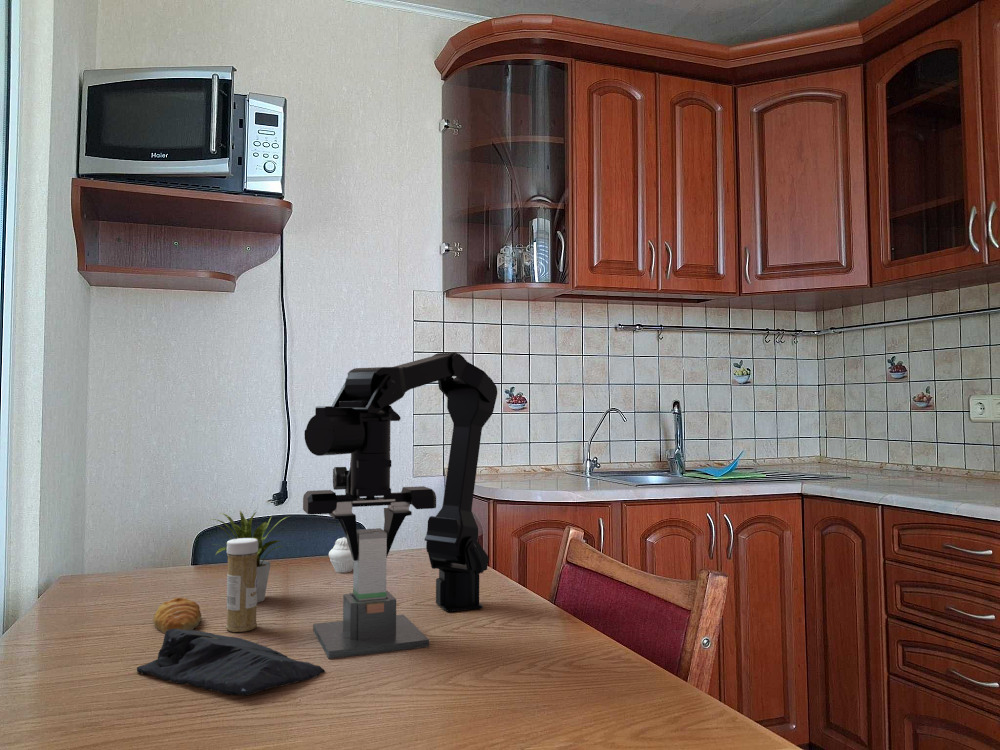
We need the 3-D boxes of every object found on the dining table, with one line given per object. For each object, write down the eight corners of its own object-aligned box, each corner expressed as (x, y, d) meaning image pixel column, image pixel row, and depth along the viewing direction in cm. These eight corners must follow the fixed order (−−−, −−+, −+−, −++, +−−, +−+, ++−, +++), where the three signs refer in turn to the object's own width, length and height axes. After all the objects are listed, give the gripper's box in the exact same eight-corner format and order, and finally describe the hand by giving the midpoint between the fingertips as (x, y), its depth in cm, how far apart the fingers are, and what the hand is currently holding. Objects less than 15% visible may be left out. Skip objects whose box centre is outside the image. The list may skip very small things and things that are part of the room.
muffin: (355, 574, 153) (356, 539, 153) (325, 574, 153) (325, 539, 154) (361, 568, 159) (361, 534, 160) (332, 567, 159) (332, 534, 160)
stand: (403, 620, 120) (403, 582, 120) (429, 646, 107) (429, 603, 107) (313, 630, 115) (313, 590, 115) (328, 659, 102) (329, 613, 102)
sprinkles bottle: (260, 629, 115) (262, 540, 116) (229, 634, 112) (231, 543, 113) (252, 622, 119) (253, 536, 119) (222, 627, 116) (223, 538, 117)
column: (379, 595, 114) (380, 528, 114) (386, 601, 110) (386, 532, 110) (353, 598, 112) (353, 529, 113) (358, 604, 109) (359, 534, 109)
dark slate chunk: (230, 715, 84) (231, 671, 85) (127, 674, 97) (128, 636, 98) (335, 676, 97) (335, 638, 97) (231, 644, 110) (232, 611, 110)
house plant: (179, 605, 129) (181, 508, 130) (236, 587, 142) (237, 499, 142) (246, 614, 124) (248, 513, 124) (299, 594, 136) (300, 503, 137)
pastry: (205, 633, 114) (206, 607, 114) (156, 640, 111) (157, 613, 111) (197, 617, 122) (197, 593, 123) (151, 623, 119) (151, 599, 119)
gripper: (416, 448, 123) (416, 545, 122) (298, 450, 116) (297, 553, 115) (437, 452, 113) (437, 558, 112) (309, 455, 106) (307, 568, 105)
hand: (369, 559), depth 111 cm, fingers closed on column, 4 cm apart
